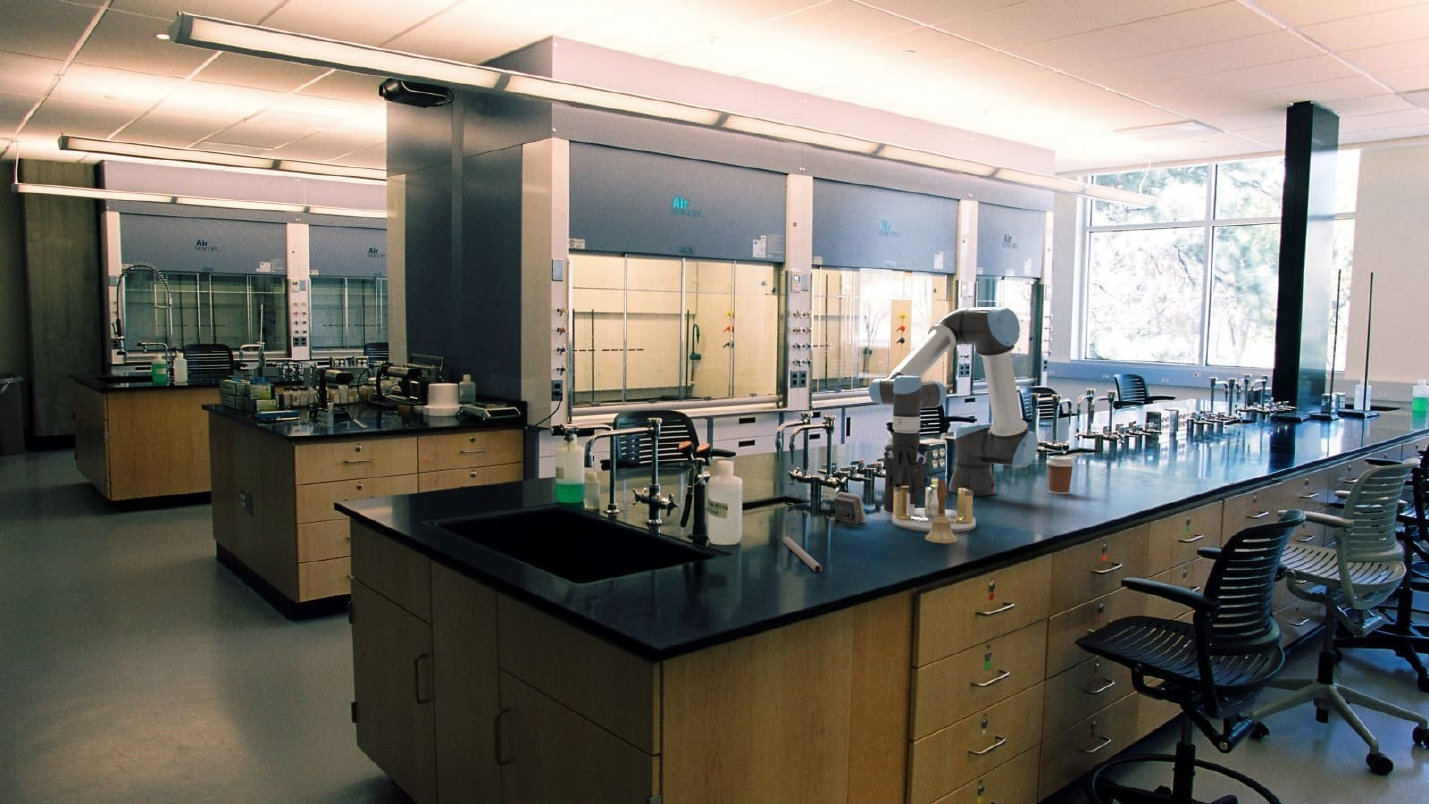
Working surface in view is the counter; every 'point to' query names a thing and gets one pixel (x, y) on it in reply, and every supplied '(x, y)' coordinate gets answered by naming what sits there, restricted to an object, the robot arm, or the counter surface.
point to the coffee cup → (1060, 474)
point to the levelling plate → (928, 522)
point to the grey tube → (802, 554)
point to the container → (888, 491)
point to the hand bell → (941, 520)
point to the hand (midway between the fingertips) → (903, 513)
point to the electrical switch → (849, 508)
